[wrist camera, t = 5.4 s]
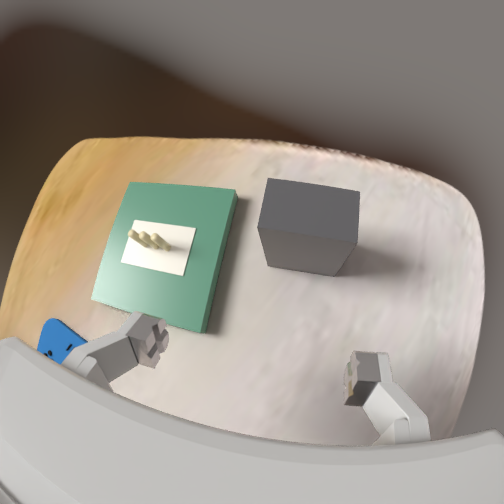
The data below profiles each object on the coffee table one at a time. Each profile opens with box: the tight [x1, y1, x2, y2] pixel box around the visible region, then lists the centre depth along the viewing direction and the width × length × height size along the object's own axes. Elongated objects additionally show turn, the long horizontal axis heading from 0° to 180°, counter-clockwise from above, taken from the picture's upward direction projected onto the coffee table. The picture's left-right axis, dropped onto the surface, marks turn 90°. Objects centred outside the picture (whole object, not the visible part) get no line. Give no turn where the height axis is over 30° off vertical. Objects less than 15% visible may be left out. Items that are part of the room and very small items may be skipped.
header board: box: [91, 182, 238, 333], centre depth 24 cm, size 13×12×4 cm
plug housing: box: [257, 178, 360, 277], centre depth 20 cm, size 3×6×8 cm, turn 78°
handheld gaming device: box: [37, 318, 88, 364], centre depth 22 cm, size 8×1×15 cm
